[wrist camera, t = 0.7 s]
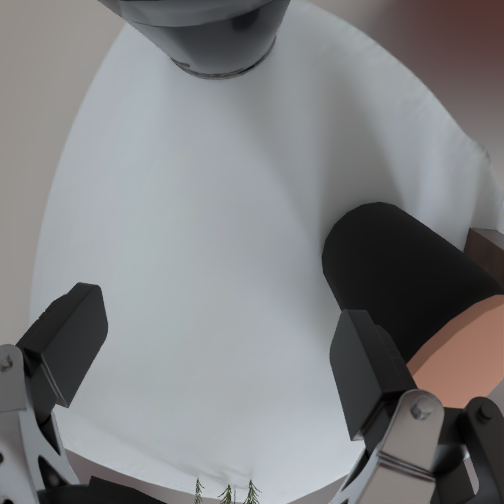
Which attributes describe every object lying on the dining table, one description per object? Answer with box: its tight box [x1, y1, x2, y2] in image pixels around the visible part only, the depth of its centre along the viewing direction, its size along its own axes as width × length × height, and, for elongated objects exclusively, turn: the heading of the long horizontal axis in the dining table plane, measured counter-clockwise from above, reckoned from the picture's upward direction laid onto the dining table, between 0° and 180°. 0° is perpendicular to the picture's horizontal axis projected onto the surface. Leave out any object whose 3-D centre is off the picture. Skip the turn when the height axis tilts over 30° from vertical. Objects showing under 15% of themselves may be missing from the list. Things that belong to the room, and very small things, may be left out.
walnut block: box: [463, 228, 504, 287], centre depth 24 cm, size 6×6×10 cm
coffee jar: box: [322, 202, 504, 409], centre depth 20 cm, size 11×11×18 cm
